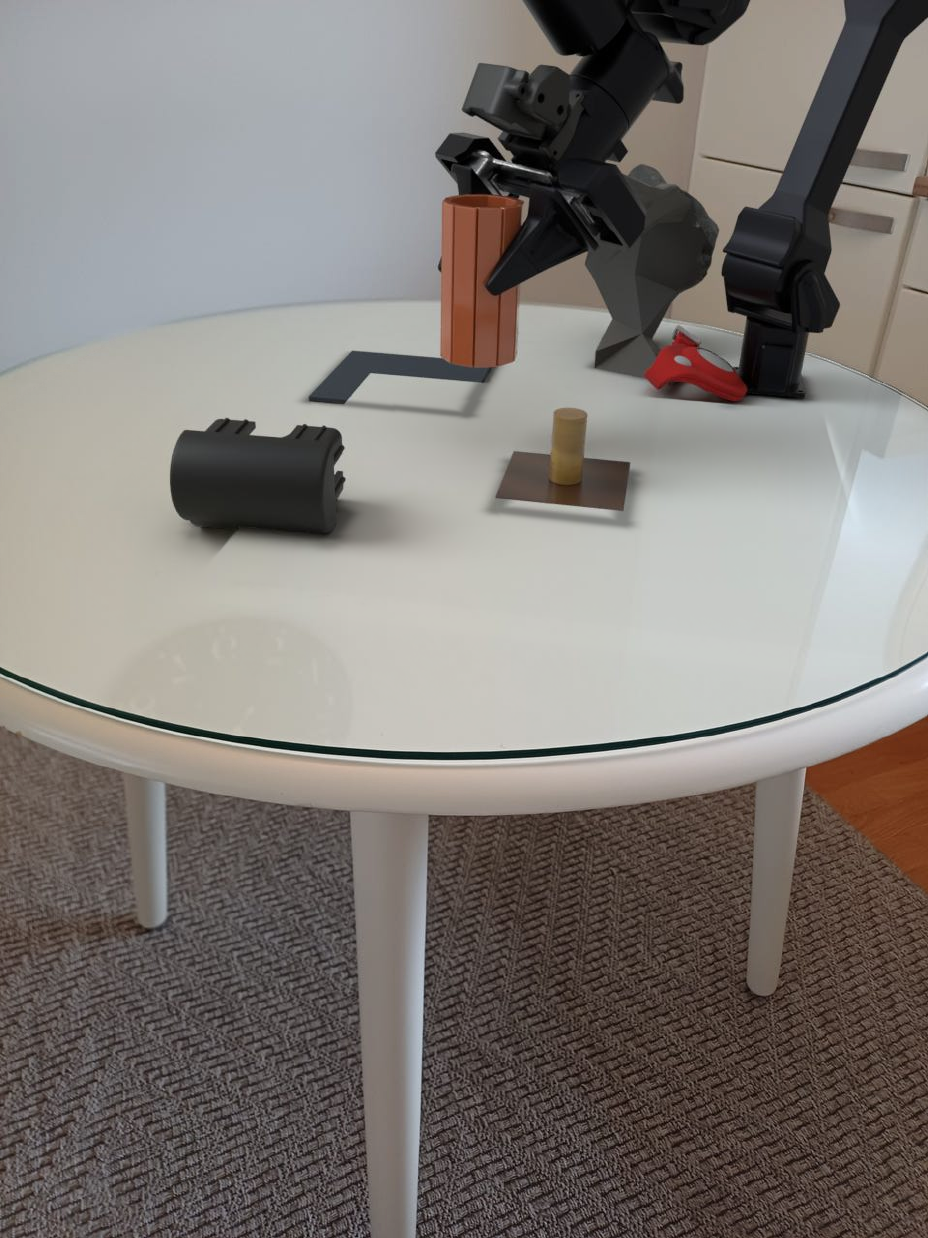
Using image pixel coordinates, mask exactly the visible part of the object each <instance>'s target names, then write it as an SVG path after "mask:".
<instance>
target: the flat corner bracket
mask: <svg viewBox="0 0 928 1238" xmlns="http://www.w3.org/2000/svg"><path fill="white" fill-rule="evenodd" d="M491 369H492V367H482V368H475V367H474V366H473V367H467V366H461V365H456V364H453V363H449V362H448V361H446V360H445V359H443V358H442V357H434V356H421V355H409V354H398V353H385V352H375V351H373V352H372V351H362V350H351V351H350V352H349V354H347V355H346V356H345V357H344V358H343V360H342V361H340V363H339V364H338V365H337V366H336V367H335V368H334V369H333V370H332V371H331V372H330V373H329V374H328V375H327V376H326V377H325V379H323V381H322V382H321V383H320V384H319V385H318V386H317V387H316V388H315V389H314V390H313V391H312V392H311V393H310V394H309V396H308V401H310V402H320V403H332V404H343V405H344V404H346V403H347V402H348V400H349V399H350V398H351V397H352V396H353V394H355V392H356V391H357V390H358V389H359V387H360V386H361V385H362V384H363V383H364V382H365V381H366V379H367V378H368V377H369V376H370V375H371V374H374V375H375V374H377V375H388V376H398V377H399V376H400V377H412V378H424V379H433V380H434V379H435V380H445V381H446V380H447V381H456V382H457V381H458V382H469V383H479V384H480V383H482V384H484V383H485V380H486V378H487V377H488V375H489V373H490V372H491Z"/></svg>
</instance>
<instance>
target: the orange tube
mask: <svg viewBox="0 0 928 1238" xmlns="http://www.w3.org/2000/svg"><path fill="white" fill-rule="evenodd" d="M524 214H525V201H524V200H523V199H520V198H518V199H517V198H514V197H509V196H501V195H492V194H491V195H488V194H466V195H459V194H458V195H451V196H448V197H444V198H443V200H442V201H441V256H440V258H441V272H440V276H441V277H440V346H439V347H440V350H439V351H440V352H439V353H440V354H439V355H440V356H439V357H440V358H443V359H445V360H446V361H448V362H449V363H453V364H456V365H461V366H467V367H473V366H474V367H475V368H482V367H491V368H497V367H501V366H505V365H509V364H512V363H514V362H516V358H517V356H518V342H519V326H520V325H519V323H520V322H519V321H520V305H521V303H520V301H521V298H520V297H521V283H520V284H518V285H516V286H515V287H513V288H511V289H509V290H507V291H505V292H503V293H501V294H499V295H497V296H494V295H491V294H490V292H489V291H488V290H487V289H486V287H485V285H486V282H487V281H488V279H489V277H490V275H491V273H492V271H493V269H494V268H495V266H496V264H497V263H498V261H499V260H500V258H501V257H502V255H503V254H504V252H505V250H506V249H507V247H508V246H509V244H510V243H511V241H512V240H513V238H514V237H515V235H516V233H517V232H518V230H519V229H520V227H521V226H522V224H523V223H524V221H525V218H524V217H525V215H524Z"/></svg>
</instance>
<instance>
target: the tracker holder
mask: <svg viewBox="0 0 928 1238" xmlns="http://www.w3.org/2000/svg"><path fill="white" fill-rule="evenodd" d="M671 340H672V341H673V342H672V343H671V344H669V345H666V346H665V347H663V348H662V349H661V351H660V353H659V355H658V356H657V358H656V360H655V362H654V364H653V365H652V366H651V367H650V368H649V369H648V370H647V371H646V372H645V374H644V377H645V378H646V379H645V378H644V379H645V380H647V381H648V382H649V383H650V384H651V385H652V386H653V387H654V388H655V389H656V390H658V391H660V390H662V389H663V388H664V387H665V386H666V385H667V384H669V383H668V382H669V381H674V383H677V382H678V383H687V384H691V385H693V386H695V387H697V388H700V389H702V390H704V391H706V392H708V393H709V394H712V395H715V396H717V397H719V398H722V399H724V400H727V401H730V402H742V401H743V400H744V398H745V395H746V394H747V393H746V392H747V386H746V384H745V383H744V382H743V380H742V379H741V378H740V377H739V376H738V374H737V372H736V371H735V369H734V368H733V367H734V366H732V365H731V363H729V362H728V361H727V360H726V359H724V358H723V357H721V356H720V355H719V354H716V353H715V352H713V351H710V350H709V349H706V348H703V347H700V346H701V344H702V340H701V339H699V338H698V337H697V336H695V335H694V334H692V333H691V332H690V331H688V330H687V329H685V328H684V327H682V326H681V325H680V324H677V325H676V326H675V328H674V330H673V333H672V335H671Z"/></svg>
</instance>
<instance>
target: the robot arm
mask: <svg viewBox="0 0 928 1238" xmlns="http://www.w3.org/2000/svg"><path fill="white" fill-rule="evenodd" d="M521 1H522V2H523V5H525V7H526V8H527V10H528V12H529V13H530V15H531V16H532V18H533V20H534V21H535V22H536V23H537V25H538V27H539V29H540V30H541V32H542V33H543V35H544V36H545V38H546V39H547V41H548V43H549V44H550V45H551V47H552V49H553V50H554V51H555V53H556V54H557V55H560V56H561V57H562V56H563V57H568V56H574V55H576V56H578V57H581V58H580V60H579V61H578V63H577V64H576V65H574V68H573V69H572V70H571V71H570V73H567V72H565V71H564V70H563V69H561V68H560V67H558V66H556V65H549V64H539V65H537V66H536V67H535V69H533V70H532V72H531V73H530V72H528V71H527V70H523V69H517V68H514V67H513V66H512V67H511V66H508V65H501V64H494V63H493V64H492V63H485V62H478V64H477V66H476V69H475V72H474V73H473V77H472V79H471V82H470V84H469V88H468V90H467V93H466V96H465V99H464V102H463V105H462V108H461V111H462V113H464V114H466V115H468V116H469V117H472V118H474V117H477V118H479V119H480V120H482V121H484V122H486V123H488V124H489V125H491V126H492V127H494V128H496V129H498V130H500V131H502V132H500V134H499V136H498V137H497V141H499V143H500V144H501V146H502V147H503V149H504V150H505V151H507V152H510V153H511V155H512V157H511V159H510V161H511V162H510V161H507V159H506V158H505V156H504V155H503V154H502V153H501V152H500V151H499V149H498V147H497V146H496V145H495V144H494V142H493V141H492V140H491V139H490V137H487V136H482V135H478V134H473V133H469V132H450V133H449V134H448V135H447V136H446V138H445V139H444V140H443V141H442V143H441V144H440V145H439V147H438V148H437V149H436V151H434V154H435V155H434V156H435V158H436V160H437V161H438V162H439V163H440V165H441V166H442V167H443V168H444V169H445V171H446V172H447V173H448V174H449V176H450V177H451V178H452V179H453V180H454V182H455V183H456V184H457V191H458V195H466V194H488V195H491V194H492V195H501V196H509V197H514V198H517V199H520V197H524V198H528V207H527V215H526V217H525V218H524V220H523V224H522V226H521V227H520V229H519V230H518V232H517V233H516V235H515V237H514V238H513V240H512V241H511V243H510V244H509V246H508V247H507V249H506V250H505V252H504V254H503V255H502V257H501V258H500V260H499V261H498V263H497V264H496V266H495V268H494V269H493V271H492V273H491V275H490V277H489V279H488V281H487V282H486V285H485V287H486V289H487V290H488V291H489V292H490V294H491V295H494V296H497V295H499V294H501V293H503V292H505V291H507V290H509V289H511V288H513V287H515V286H516V285H518V284H520V285H521V284H522V283H524V282H526V281H528V280H530V279H532V278H534V277H535V276H537V275H540V274H542V273H543V272H545V271H547V270H549V269H552V268H553V267H556V266H557V265H560V264H562V263H564V262H568V261H569V260H572V259H574V258H576V257H578V256H580V255H582V254H585V253H588V251H589V252H595V251H596V250H597V249H598V248H599V245H598V243H597V242H596V240H595V238H596V236H597V235H598V234H599V232H600V240H601V242H602V243H603V244H604V245H606V246H610V247H613V248H616V249H620V250H623V251H627V252H629V250H630V249H631V248H632V246H633V245H634V244H635V242H636V241H637V240H638V238H639V237H640V236H641V234H642V233H643V232H644V230H645V220H646V209H645V208H644V206H643V205H642V203H641V202H640V200H639V198H638V197H637V195H636V194H635V192H634V191H633V189H632V188H631V186H630V185H629V183H628V182H627V180H626V179H625V177H624V176H623V174H624V173H623V172H622V171H621V169H620V168H619V167H618V165H617V164H616V163H621V162H622V161H623V159H624V158H625V157H626V155H627V154H628V153H629V150H628V148H627V147H626V145H625V144H624V142H623V139H624V138H625V136H626V135H627V133H628V132H629V131H630V129H631V128H632V127H633V126H634V124H635V123H636V121H638V119H639V118H640V117H641V115H642V113H643V112H644V111H645V110H646V108H647V107H648V106H649V104H650V103H651V101H655V102H661V103H668V104H669V103H670V104H675V105H680V104H681V103H683V101H684V97H685V87H684V82H683V78H682V71H683V63H682V62H681V61H673V60H670V58H669V56H668V55H667V53H666V51H665V50H664V48H663V46H662V43H667V44H678V45H689V46H691V45H692V46H705V45H708V44H711V43H713V42H714V41H716V40H717V39H718V38H719V37H721V36H722V35H723V34H724V33H725V32H726V31H727V30H729V29H730V28H731V27H732V26H734V24H735V23H736V22H737V21H739V20H740V19H741V18H742V17H743V16H744V15H745V13H746V12H747V10H748V8H749V5H750V2H751V0H521ZM843 7H844V16H845V20H844V22H843V26H842V29H841V31H840V34H839V37H838V39H837V41H836V43H835V45H834V48H833V51H832V53H831V55H830V58H829V60H828V63H827V65H826V68H825V70H824V71H823V72H824V73H823V75H822V77H821V80H820V82H819V84H818V87H817V89H816V91H815V94H814V96H813V98H812V101H811V104H810V107H809V109H808V111H807V113H806V116H805V118H804V120H803V122H802V125H801V127H800V130H799V132H798V135H797V137H796V140H795V142H794V144H793V147H792V150H791V151H790V154H789V157H788V159H787V162H786V164H785V165H784V169H783V170H782V174H781V176H780V178H779V181H778V183H777V185H776V187H775V190H774V192H773V194H772V195H771V196H770V197H769V198H768V199H767V200H766V201H765V202H764V203H762V204H761V205H760V206H759V207H758V208H755V207H752V206H747V205H746V206H744V207H743V208H742V209H741V211H740V212H739V213H738V215H737V218H736V221H735V225H734V228H733V231H732V234H731V236H730V238H729V240H728V241H727V243H726V244H725V246H724V247H723V248H722V253H724V254H725V256H724V259H723V262H722V265H721V273H720V274H721V277H723V284H724V293H725V300H726V301H725V302H726V308H727V312H728V313H730V314H737V315H740V316H744V317H746V319H745V325H744V331H743V339H742V343H741V350H740V356H739V363H738V366H732V367H733V368H734V369H735V371H736V372H737V374H738V376H739V377H740V378H741V379H742V380H743V382H744V383H745V384H746V386H747V392H746V394H753V395H754V394H755V395H764V396H766V395H767V396H777V397H788V398H789V397H790V398H801V399H802V398H805V397H806V395H807V390H806V386H805V382H804V378H803V373H802V372H803V367H804V362H805V355H806V352H807V351H806V350H807V347H808V346H807V345H808V340H809V336H810V333H812V334H822V333H824V330H825V329H830V328H832V327H833V324H834V322H835V320H836V318H837V315H838V312H839V310H840V307H841V302H840V301H839V299H838V296H837V295H836V292H835V291H834V289H833V287H832V286H831V283H830V281H829V280H828V278H827V276H826V270H827V267H828V264H829V261H830V258H831V255H832V251H833V250H832V249H833V248H832V247H833V246H832V238H831V230H830V229H831V228H830V219H829V216H830V212H831V209H832V206H833V204H834V202H835V200H836V197H837V195H838V192H839V190H840V189H841V185H842V184H843V182H844V178H845V177H846V174H847V172H848V170H849V167H850V165H851V163H852V160H853V158H854V155H855V153H856V150H857V148H858V146H859V144H860V142H861V139H862V137H863V135H864V133H865V130H866V127H867V125H868V124H869V121H870V118H871V116H872V113H873V112H874V110H875V108H876V104H877V102H878V100H879V97H880V95H881V93H882V90H883V88H884V86H885V84H886V81H887V80H888V79H887V78H888V76H889V74H890V72H891V69H892V68H893V65H894V63H895V60H896V59H897V56H898V54H899V51H900V49H901V46H902V44H903V43H904V41H905V39H907V38H908V36H909V35H911V34H912V33H913V32H914V31H915V30H916V29H917V28H918V27H920V25H922V24H923V23H924V22H925V21H926V20H927V19H928V0H843ZM607 161H610V162H607ZM611 162H614V163H611ZM437 271H439V273H441V257H440V259H439V261H438V265H437Z"/></svg>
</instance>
